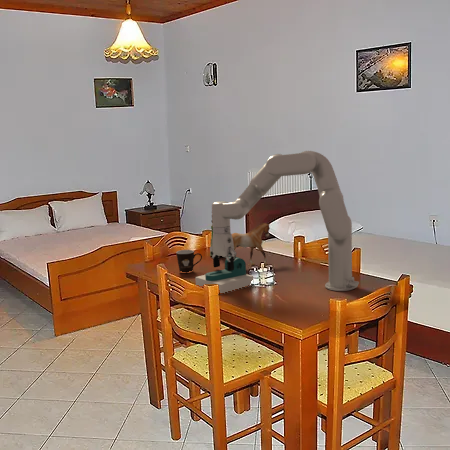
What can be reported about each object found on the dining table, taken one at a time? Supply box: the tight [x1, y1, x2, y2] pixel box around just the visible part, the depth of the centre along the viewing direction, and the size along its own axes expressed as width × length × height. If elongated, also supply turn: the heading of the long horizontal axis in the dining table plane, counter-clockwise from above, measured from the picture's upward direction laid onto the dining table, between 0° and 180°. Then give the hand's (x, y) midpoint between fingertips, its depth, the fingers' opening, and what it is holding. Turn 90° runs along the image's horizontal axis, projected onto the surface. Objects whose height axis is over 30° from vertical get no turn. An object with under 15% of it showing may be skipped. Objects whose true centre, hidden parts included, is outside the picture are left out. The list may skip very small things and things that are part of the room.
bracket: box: [204, 256, 247, 281], centre depth 243 cm, size 18×7×8 cm, turn 120°
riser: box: [194, 273, 254, 294], centre depth 244 cm, size 18×18×4 cm
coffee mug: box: [175, 249, 203, 272], centre depth 270 cm, size 12×9×10 cm
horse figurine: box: [210, 222, 271, 266], centre depth 274 cm, size 31×8×21 cm, turn 105°
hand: (223, 268), depth 244 cm, fingers open, 9 cm apart
